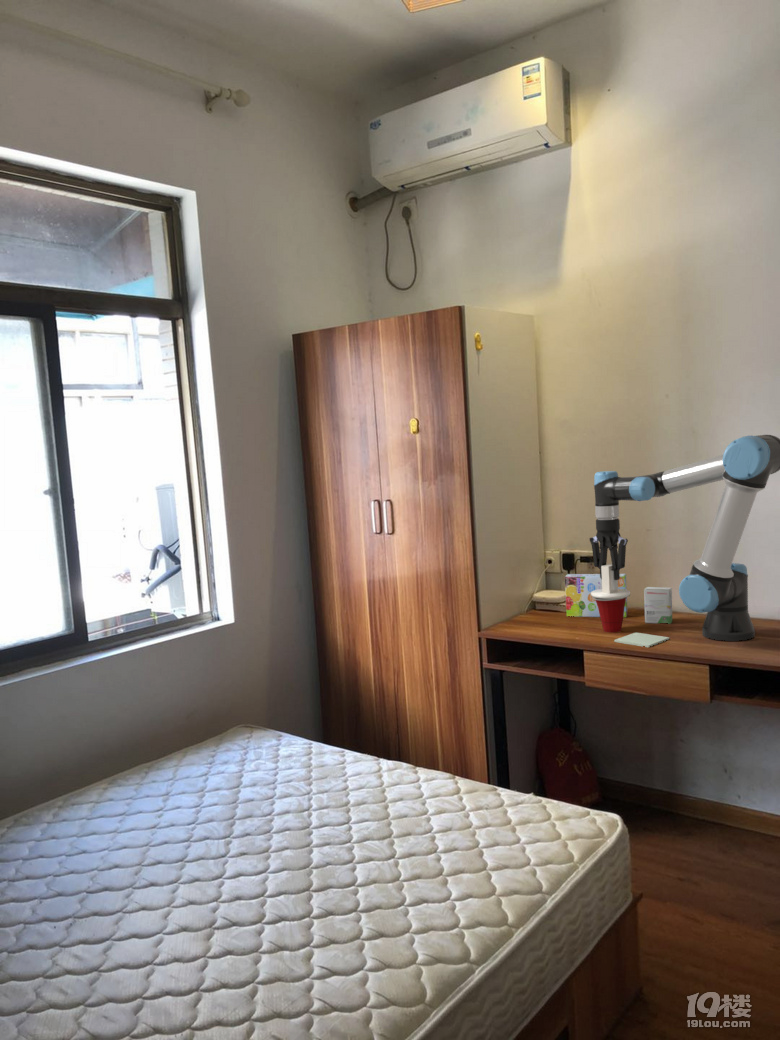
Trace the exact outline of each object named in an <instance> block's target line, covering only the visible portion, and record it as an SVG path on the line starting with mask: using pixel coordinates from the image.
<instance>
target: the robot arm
mask: <svg viewBox="0 0 780 1040" xmlns="http://www.w3.org/2000/svg"><path fill="white" fill-rule="evenodd" d="M779 471H780V438H779V437H778V436H775V435H772V434H760V435H746V436H741V437H739V438H736V439H735V440H733V441H731V442H730V443H729V444H728V445H727V447H726V448H725V450H724V451H723V454H721V455H716V456H714V457H713V456H712V457H709V458H705V459H703V460H698V461H695V462H692V463H689V464H685V465H680V466H678V467H675V468H672V469H667V470H664V471H660V472H655V473H653V474H646V475H638V476H627V477H625V476H623V477H621V476H619V474H618V471H617V470H607V471H606V470H604V471H602V470H601V471H597V472H595V474H594V477H593V478H594V480H593V481H594V482H593V483H594V484H593V486H594V487H593V489H594V499H595V500H594V502H595V505H594V508H595V509H594V510H595V515H594V516H595V518H596V520H595V530H596V535H594V536H593V537H589V542H590V544H591V551H592V557H593V558H592V559H593V566H594V567H595V568H598V569H599V574H600V578H601V579H602V572H601V566H603V565H607V564H608V563H607V562H608V561H607V560H608V559H607V558H608V550H609V553H610V560H611V564H612V567H613V569H612V570H611V589H612V590H616V589H618V580H619V578H620V574H621V573H620V570H621V569H624V568H626V552H627V545H628V542H629V540H628V538H624V537H622V536H621V533H620V529H621V527H620V525H621V523H620V519H619V517H620V505H619V503H620V501H637V502H644V501H650V500H651V499H652V498H660V497H664V496H666V495H669V494H673V493H677V492H681V491H685V490H689V489H692V488H697V487H701V486H704V485H708V484H712V483H715V482H717V483H718V482H720V481H723V480H724V482H725V486H724V489H723V492H722V495H721V498H720V501H719V504H718V507H717V509H716V513H715V515H714V518H713V522H712V524H711V527H710V530H709V533H708V536H707V539H706V541H705V545H704V547H703V551H702V554H701V557H700V558H699V559H696V560H694V562H693V563H692V567H691V569H690V573H689V575H687V576H685V577H684V578H683V579H682V580H681V581H680V584H679V586H678V587H679V588H678V592H679V597H680V599H681V601H682V603H683V604H684V606H685V607H687V609H688V610H690V611H693V612H696V613H700V614H704V613H706V616H705V617H704V618H705V619H704V622H703V625H702V629H701V632H702V636H703V637H704V638H707V639H709V638H710V639H709V640H714V639H715V641H721V640H723V641H722V642H724V640H725V642H740V641H739V640H742V641H748V640H747V639H749V640H752V639H754V638H755V637H754V636H756V633H755V632H756V631H755V627H754V624H753V621H752V619H751V616H750V613H749V600H748V599H749V591H748V590H749V589H748V587H749V586H748V585H749V584H748V580H749V579H748V577H749V574H748V567H747V566H746V565H745V564H744V563H737V562H733V561H734V559H735V555H736V553H737V550H738V547H739V544H740V541H741V539H742V536H743V533H744V530H745V528H746V525H747V521H748V519H749V516H750V513H751V510H752V508H753V506H754V505H753V504H754V502H755V500H756V496H757V494H758V493H759V492H761V491H763V490H764V489H766V486H767V483H768V481H769V477H770V475H773V474H777V472H779ZM753 637H754V638H753ZM751 638H752V639H751Z"/></svg>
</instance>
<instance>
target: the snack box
mask: <svg viewBox="0 0 780 1040" xmlns="http://www.w3.org/2000/svg"><path fill="white" fill-rule="evenodd" d="M598 589H602V579H601V578H600V573H593V574H592V573H568V574H566V575H565V576H564V590H565V593H564V594H565V610H566V611H565V612H566V615H565V616H566V617H568V616H570V617H571V616H572V617H573V616H574V617H573V618H575V617H576V618H577V617H578V618H583V617H585V618H600V614H599V610H598V606H597V603H596V601H595V599H594V597H592V596H591V591H594V590H598ZM618 589H625V590H628V589H627V573H620V578H619V580H618ZM628 614H629V613H628V597H626V601H625V607H624V616H623V618H627V617H628ZM572 617H571V618H572Z"/></svg>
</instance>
